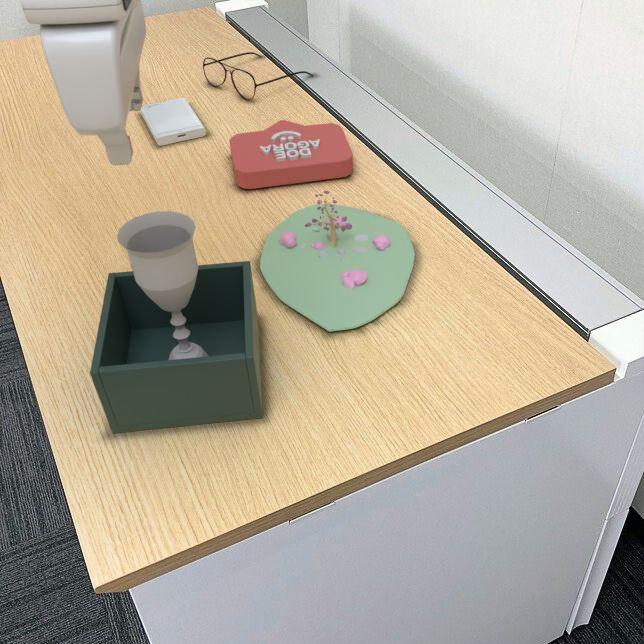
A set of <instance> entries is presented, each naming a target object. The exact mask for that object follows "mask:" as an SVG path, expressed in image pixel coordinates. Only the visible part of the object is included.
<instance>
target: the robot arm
mask: <svg viewBox="0 0 644 644" xmlns="http://www.w3.org/2000/svg"><path fill="white" fill-rule="evenodd" d="M19 3H20V5H21V7H22V8H21V9H22V12H23V15H24V19H25V20H26V22H27V23H28V24H29V25H39V38H40V44H41V48H42V51H43V54H44V58H45V61H46V64H47V67H48V70H49V73H50V75H51V78H52V81H53V85H54V87H55V90H56V93H57V95H58V98H59V100H60V104H61V106H62V109H63V112H64V114H65V116H66V119H67V121H68V123H69V124H70V126H71V127H72V128H73V130H74V131H75V132H76V133H77V134H78V135H80V136H97V137H98V138H99V140H100V141H101V143H102V144H103V146H104V148H105V152H106V156H107V159H108V162H109V163H110V164H111V165H113V166H128V165H130V164H131V163H132V159H133V155H134V149H133V146H132V140H131V135H128V133H127V129H126V128H127V122H128V118H129V113H130V112H132V111H133V112H140V109H141V107H142V106H143V103H144V97H143V91H142V87H141V86H142V85H141V72H140V71H141V70H140V63H141V57H142V54H143V48H144V43H145V39H146V35H147V25H146V18H145V13H144V8H143V3H142V0H19Z"/></svg>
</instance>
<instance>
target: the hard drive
mask: <svg viewBox="0 0 644 644" xmlns="http://www.w3.org/2000/svg"><path fill="white" fill-rule="evenodd" d="M139 112H140V115H141V117H142V118H143V121H144V122H145V124H146V126H147V128H148V129H149V132H150V133H151V135H152V137H153V139H154V140H155V142H156V144H157V146H160V147H161V146H166V145H171V144H175V143H179V142H184V141H190V140H194V139H198V138H202V137H206V136H207V130H206V127H205V126H204V124H203V123H202V121H201V120H200V118H199V117H198V115H197V114H196V112H195V110H194V109H193V107H192V106H191V105H190V103H189V101H188V100H187V99H186V97H177V98H175V99H174V98H173V99H169V100H165V101H160V102H155V103H151V104H146V105H145V104H144V105H142V107H141V109H140V110H139Z"/></svg>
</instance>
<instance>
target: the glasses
mask: <svg viewBox="0 0 644 644" xmlns="http://www.w3.org/2000/svg"><path fill="white" fill-rule="evenodd" d="M245 55H254V56H256V57H260V58H262V55H260V54H258V53H256V52H254V51H248V52H242V53H238V54H234V55H231V56H227V57H224V58H220V59H216V58H213V57H205V58H204V59H203V61H202V69H203V74H204V77H205V79H206V81H207V82H208V84H209V85H210V86H212V87H215V88H217V87H220V86H222V85H224V84H225V82H226V80H227V76H228V75H227V74H228V72H229V73H230V79H231V80H230V81H231V83H232V86H233V88H234V90H235V91H236V93H237V94H238V95H239V96H240V97H241V98H242V99H244V100H245V101H251V100H252V99H254V97H255V95H256V91H257V88H258V87H260V86H263V85H267V84H270V83H273V82H276V81H279V80H282V79H286V78H289V77H291V76H295V75H300V74H306V75H309V76H312V77H314V75H313V73H311V72H308V71H306V70H301V71H296V72H292V73H288V74H285V75H283V76H279V77H276V78H273V79H269V80H267V81H264V82H260V83H256V79H255V77H254V75H253V74H252V73H251V72H249V71H248V70H244V69H242V68H241V69H240V68H238V67H234V66H231V65H228V64H226V63H224V62H223V61H227V60H230V59H233V58H238V57H241V56H242V57H243V56H245ZM207 59H208V60H212V61H210V62H206V60H207ZM205 62H206V63H205ZM217 63H218V64H219V65H220V66H221V67H222V68H223V71H224V79H223V81H222V82H221V83H220V84H219V85H215V84H213V83H212V82H210V80H209V79H208V77H207V75H206V70H205V67H207V66H209V65H213V64H217ZM226 67H228V68H231V69H233V70H230V69H226ZM236 71H240V72H243V73H245V74H247V75H248V76H250V77H251V79H252V81H253V85H254V86H253V89H254V90H253V95H252V97H251V98H246V97H244V95H243V94H241V92H240V91H239V89H238V88H237V86H236V83H235V80H234V75H233V74H234V72H236Z"/></svg>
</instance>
